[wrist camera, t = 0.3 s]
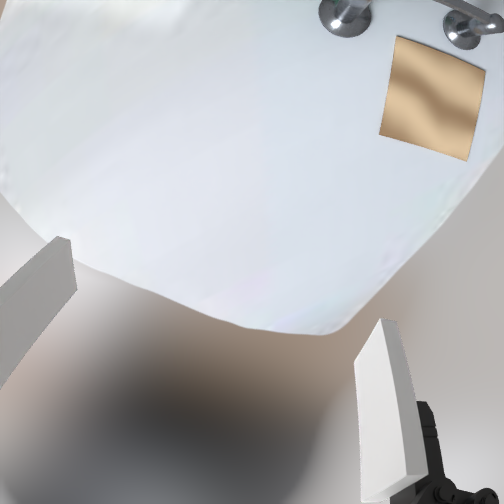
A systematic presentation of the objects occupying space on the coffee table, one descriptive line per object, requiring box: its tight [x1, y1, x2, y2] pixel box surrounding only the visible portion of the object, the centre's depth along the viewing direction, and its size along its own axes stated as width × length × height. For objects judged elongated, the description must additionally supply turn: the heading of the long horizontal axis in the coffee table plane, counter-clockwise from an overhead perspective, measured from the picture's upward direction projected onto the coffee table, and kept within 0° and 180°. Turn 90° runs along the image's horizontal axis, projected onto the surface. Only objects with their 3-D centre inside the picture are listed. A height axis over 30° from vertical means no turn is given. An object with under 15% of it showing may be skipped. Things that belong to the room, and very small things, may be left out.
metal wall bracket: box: [319, 0, 504, 50], centre depth 17 cm, size 8×19×19 cm, turn 83°
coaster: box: [379, 36, 485, 162], centre depth 29 cm, size 12×12×1 cm
